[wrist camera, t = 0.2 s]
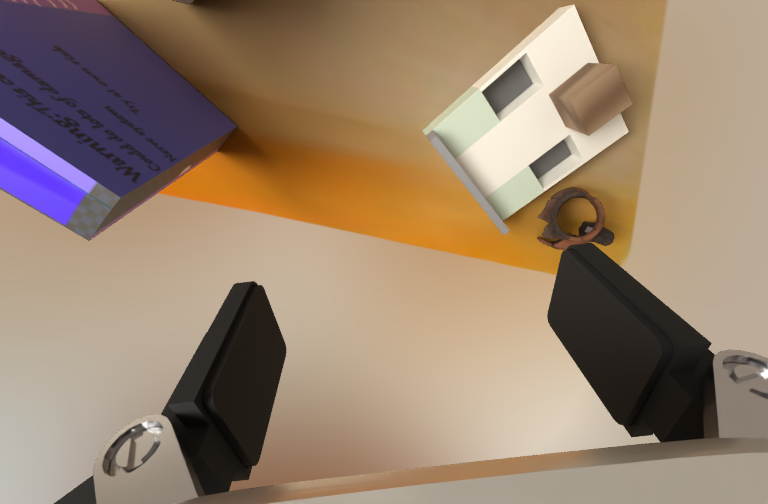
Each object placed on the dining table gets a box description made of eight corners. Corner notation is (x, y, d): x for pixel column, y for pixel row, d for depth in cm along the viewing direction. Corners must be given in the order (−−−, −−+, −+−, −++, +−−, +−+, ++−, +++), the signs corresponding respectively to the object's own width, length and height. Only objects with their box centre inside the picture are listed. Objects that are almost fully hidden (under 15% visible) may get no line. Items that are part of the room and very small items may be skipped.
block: (548, 94, 39) (571, 100, 35) (587, 62, 37) (616, 64, 33) (565, 127, 41) (589, 135, 37) (603, 98, 39) (632, 104, 35)
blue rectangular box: (76, 35, 36) (-301, 17, 15) (96, -1, 34) (-295, -74, 14) (216, 151, 43) (86, 242, 23) (237, 126, 42) (118, 199, 21)
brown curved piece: (517, 239, 54) (537, 239, 46) (535, 184, 53) (559, 175, 45) (587, 261, 53) (620, 265, 45) (606, 206, 53) (644, 200, 45)
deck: (559, 7, 37) (590, 1, 32) (613, 127, 44) (645, 137, 39) (422, 130, 43) (429, 141, 38) (489, 216, 51) (503, 235, 46)
